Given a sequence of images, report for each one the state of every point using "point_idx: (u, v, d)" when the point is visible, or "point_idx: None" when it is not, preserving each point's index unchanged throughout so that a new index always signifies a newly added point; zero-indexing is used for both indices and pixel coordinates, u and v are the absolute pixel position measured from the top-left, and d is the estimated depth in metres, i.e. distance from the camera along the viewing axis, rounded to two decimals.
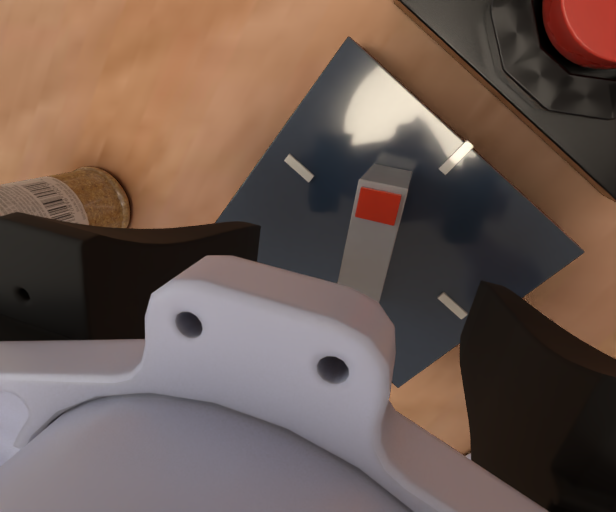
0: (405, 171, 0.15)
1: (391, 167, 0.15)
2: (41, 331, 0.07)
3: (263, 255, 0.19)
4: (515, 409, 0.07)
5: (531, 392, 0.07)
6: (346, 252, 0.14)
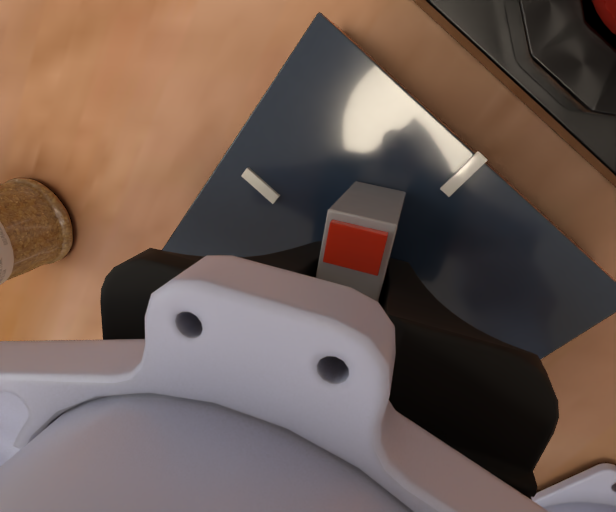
0: (396, 192, 0.11)
1: (378, 186, 0.12)
2: None
3: None
4: None
5: None
6: None
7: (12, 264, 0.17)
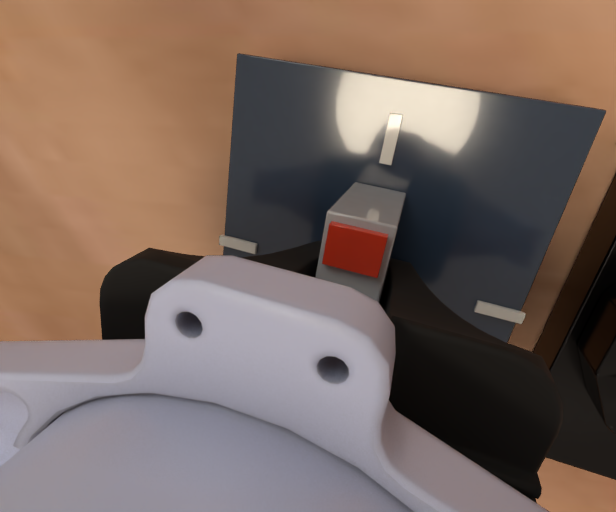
0: (396, 193, 0.11)
1: (378, 187, 0.12)
2: None
3: (246, 152, 0.13)
4: None
5: None
6: None
7: None
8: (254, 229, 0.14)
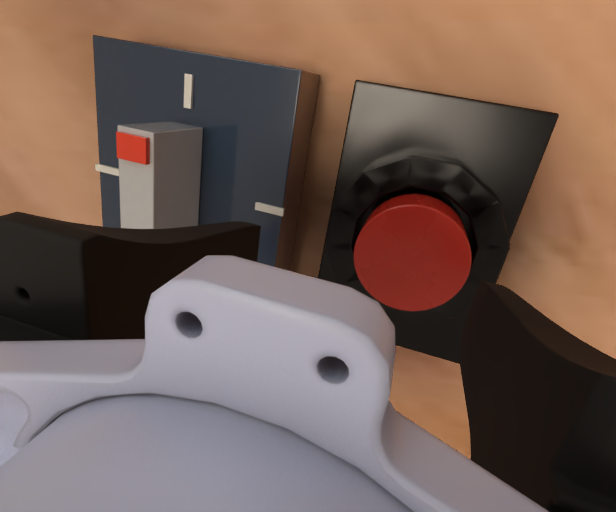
0: (193, 126, 0.17)
1: (184, 124, 0.18)
2: (41, 331, 0.07)
3: (105, 102, 0.19)
4: (515, 409, 0.07)
5: (531, 392, 0.07)
6: (121, 191, 0.16)
7: None
8: (118, 158, 0.20)
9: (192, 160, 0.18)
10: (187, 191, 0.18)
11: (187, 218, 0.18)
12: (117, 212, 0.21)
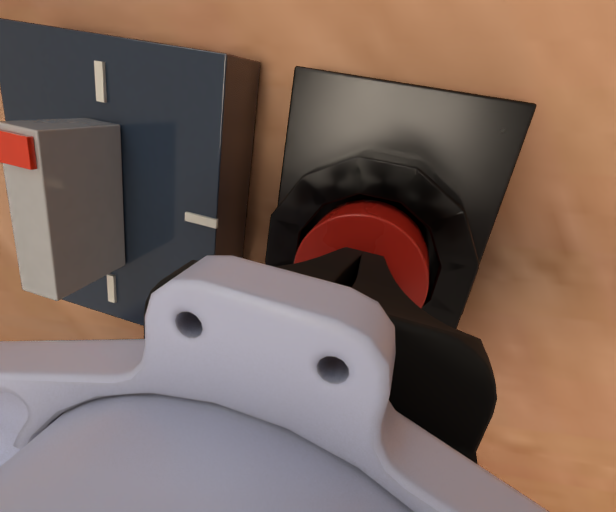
0: (107, 124, 0.15)
1: (98, 120, 0.15)
2: None
3: (12, 96, 0.16)
4: None
5: None
6: (10, 201, 0.13)
7: None
8: None
9: (107, 163, 0.15)
10: (102, 200, 0.15)
11: (107, 231, 0.16)
12: None
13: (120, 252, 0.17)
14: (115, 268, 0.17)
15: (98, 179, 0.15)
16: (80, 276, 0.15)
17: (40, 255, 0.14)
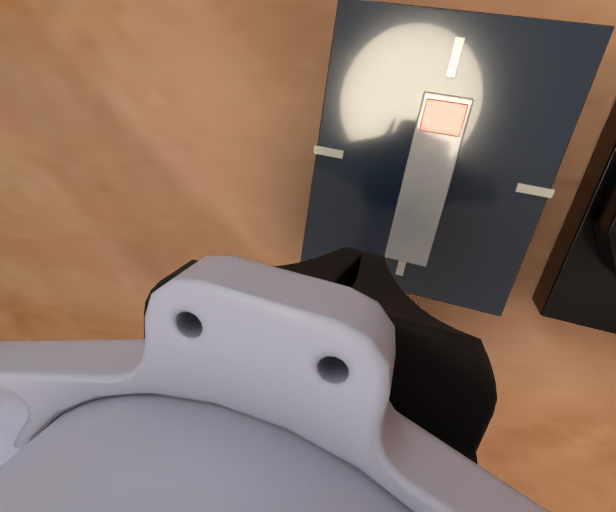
0: None
1: None
2: None
3: (340, 75, 0.17)
4: None
5: None
6: (408, 170, 0.14)
7: None
8: (343, 138, 0.18)
9: None
10: None
11: None
12: (329, 199, 0.19)
13: None
14: None
15: None
16: None
17: (424, 221, 0.14)
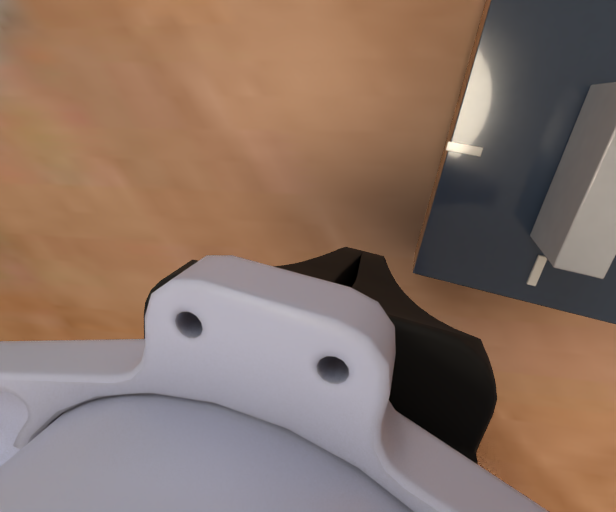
0: None
1: None
2: None
3: (489, 63, 0.15)
4: None
5: None
6: (600, 169, 0.12)
7: None
8: (482, 134, 0.16)
9: None
10: None
11: None
12: (458, 201, 0.17)
13: None
14: None
15: None
16: None
17: (610, 228, 0.13)
